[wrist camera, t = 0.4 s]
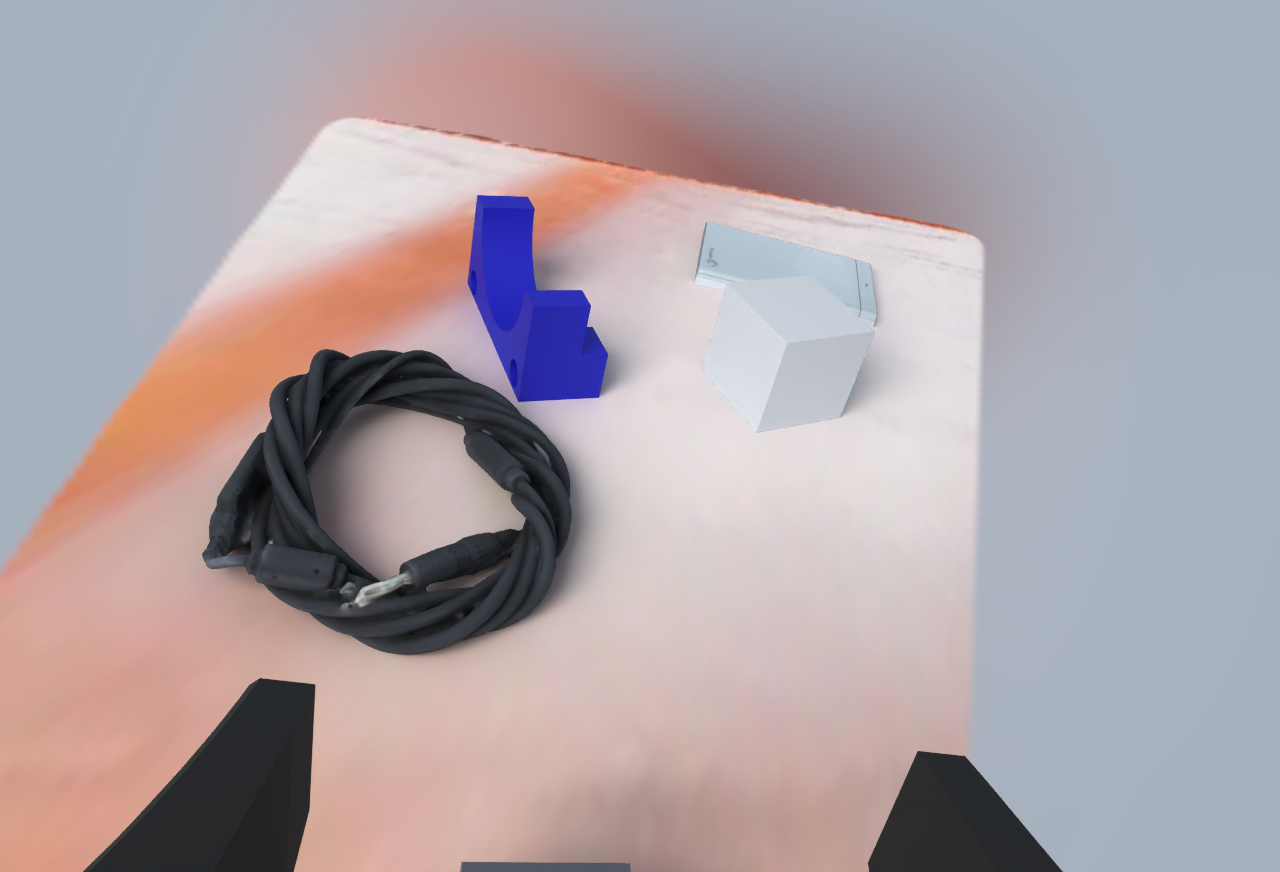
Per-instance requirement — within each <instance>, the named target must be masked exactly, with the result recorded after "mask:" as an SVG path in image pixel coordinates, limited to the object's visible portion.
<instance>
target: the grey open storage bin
mask: <svg viewBox="0 0 1280 872" xmlns="http://www.w3.org/2000/svg"><path fill="white" fill-rule="evenodd" d="M460 872H631V871H630V864H625V863H516V862H462V863H461V869H460Z"/></svg>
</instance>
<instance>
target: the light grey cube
mask: <svg viewBox="0 0 1280 872" xmlns="http://www.w3.org/2000/svg"><path fill="white" fill-rule="evenodd" d="M874 333H875V331H874V330H873V329H872V328H871V327H870V326H868V325H867V324H866V323H865V322H864V321H863V320H862V319H861V318H859V317H858V316H857V315H856V314H855V313H854V312H853V311H851V310H850V309H849V308H848V307H847V306H846V305H845V304H843V303H842V302H841V301H840V300H839V299H838V298H837V297H835V296H834V295H833V294H832V293H831V292H830V291H829V290H828V289H826V288H825V287H824V286H823V285H822V284H821V283H820V282H818V281H817V280H816V279H815V278H814V277H813V276H812V275H808V276H797V277H786V278H775V279H764V280H753V281H742V282H731V283H726V286H725V289H724V293H723V296H722V300H721V303H720V307H719V310H718V314H717V317H716V321H715V324H714V328H713V331H712V334H711V338H710V341H709V345H708V348H707V352H706V355H705V359H704V362H703V366H702V369H701V371H702V372H703V374H704V375H705V376H706V377H707V378H708V379H709V380H710V381H711V383H712V384H713V385H714V386H715V387H716V388H717V389H718V390H719V392H720V393H721V394H722V395H723V396H724V397H725V398H726V400H727V401H728V402H729V403H730V404H731V405H732V406H733V407H734V409H735V410H736V411H737V412H738V413H739V414H740V415H741V416H742V418H743V419H744V420H745V421H746V422H747V423H748V424H749V425H750V427H751V428H752V429H753V430H754V431H755V432H756V433H759V432H765V431H770V430H776V429H781V428H787V427H792V426H798V425H803V424H809V423H814V422H820V421H825V420H831V419H836V418H840V417H841V414H842V412H843V409H844V407H845V404H846V402H847V400H848V397H849V395H850V392H851V390H852V387H853V385H854V382H855V380H856V377H857V375H858V372H859V370H860V367H861V365H862V362H863V360H864V358H865V355H866V353H867V350H868V348H869V345H870V343H871V340H872V338H873V335H874Z"/></svg>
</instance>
